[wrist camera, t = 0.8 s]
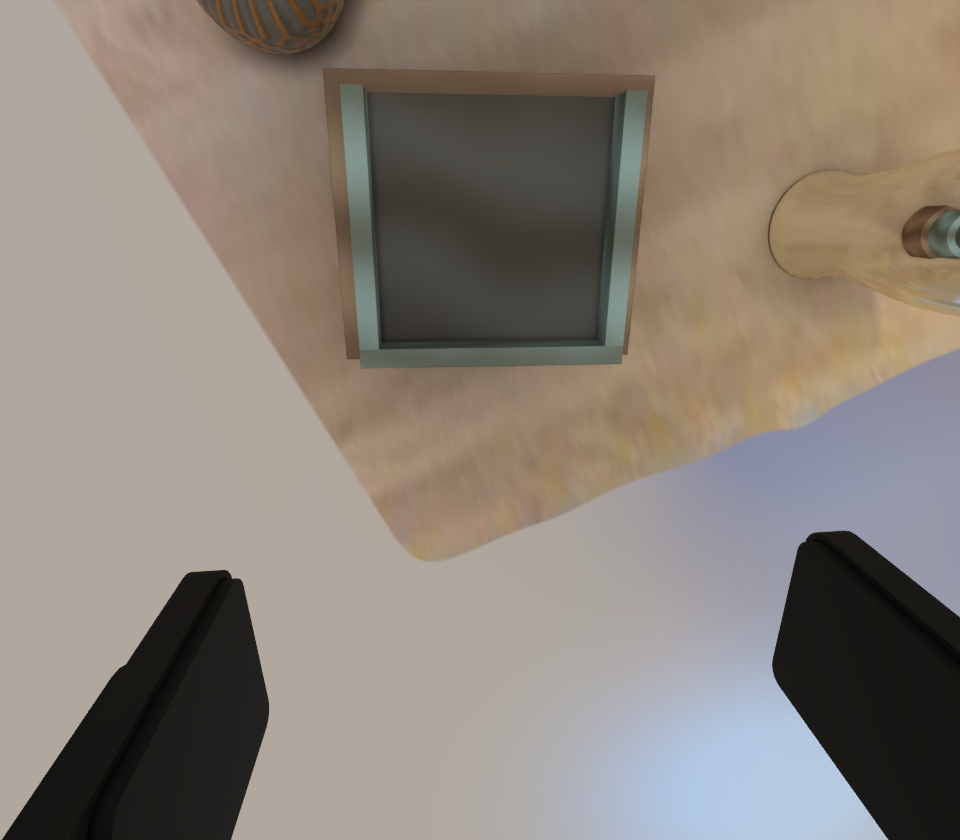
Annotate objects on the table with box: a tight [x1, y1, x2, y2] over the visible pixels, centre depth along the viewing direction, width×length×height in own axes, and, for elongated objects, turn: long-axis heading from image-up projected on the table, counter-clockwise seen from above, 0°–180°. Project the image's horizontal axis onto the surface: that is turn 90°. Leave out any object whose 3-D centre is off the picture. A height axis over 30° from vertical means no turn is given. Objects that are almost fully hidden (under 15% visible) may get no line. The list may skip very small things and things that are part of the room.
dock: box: [323, 68, 655, 368], centre depth 30 cm, size 14×16×5 cm
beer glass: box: [769, 148, 960, 317], centre depth 26 cm, size 7×7×15 cm
